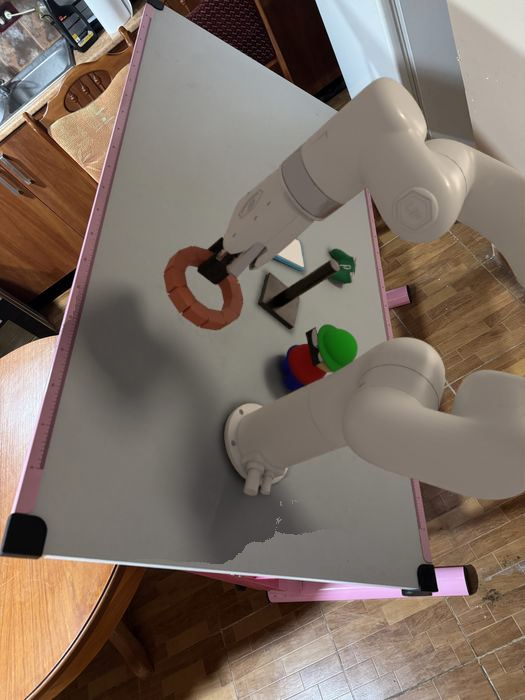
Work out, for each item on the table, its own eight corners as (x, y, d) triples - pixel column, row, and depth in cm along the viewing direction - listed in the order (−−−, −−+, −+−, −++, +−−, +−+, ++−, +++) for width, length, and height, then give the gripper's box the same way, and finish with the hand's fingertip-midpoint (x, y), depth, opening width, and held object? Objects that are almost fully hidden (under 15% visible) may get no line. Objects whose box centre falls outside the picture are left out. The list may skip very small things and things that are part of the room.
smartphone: (306, 270, 113) (252, 243, 103) (301, 273, 113) (247, 247, 103) (301, 240, 116) (248, 211, 106) (296, 243, 117) (243, 215, 107)
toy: (303, 407, 96) (372, 376, 86) (266, 388, 91) (335, 353, 82) (304, 364, 101) (369, 330, 92) (269, 343, 97) (334, 305, 87)
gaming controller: (323, 285, 120) (351, 289, 119) (325, 271, 117) (353, 275, 116) (330, 260, 126) (357, 263, 125) (331, 246, 124) (358, 249, 123)
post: (290, 329, 102) (348, 295, 94) (258, 304, 99) (316, 265, 90) (296, 299, 108) (352, 264, 99) (266, 274, 104) (321, 235, 95)
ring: (223, 345, 67) (233, 339, 66) (153, 295, 62) (161, 287, 61) (241, 287, 74) (249, 281, 72) (178, 238, 69) (186, 231, 68)
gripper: (298, 122, 63) (201, 213, 74) (275, 203, 52) (167, 294, 64) (343, 167, 66) (243, 248, 77) (330, 252, 55) (217, 331, 67)
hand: (209, 268), depth 71 cm, fingers closed on ring, 2 cm apart
